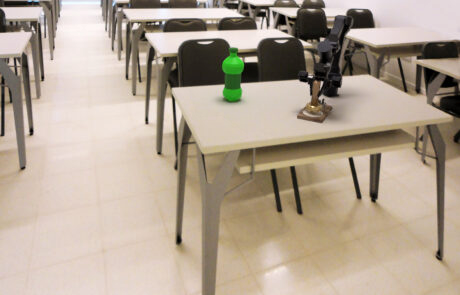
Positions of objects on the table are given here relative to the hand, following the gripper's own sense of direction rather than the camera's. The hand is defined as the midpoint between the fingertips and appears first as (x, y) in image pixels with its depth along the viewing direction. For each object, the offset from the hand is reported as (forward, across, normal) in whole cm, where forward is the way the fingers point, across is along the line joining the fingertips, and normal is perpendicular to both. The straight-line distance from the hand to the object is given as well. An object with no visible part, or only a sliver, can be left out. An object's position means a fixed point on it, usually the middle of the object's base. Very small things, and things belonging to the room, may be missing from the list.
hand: (314, 96), depth 161 cm
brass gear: (+4, 0, +6) cm, 7 cm away
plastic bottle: (+5, -41, +9) cm, 42 cm away
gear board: (+3, 0, +11) cm, 11 cm away
